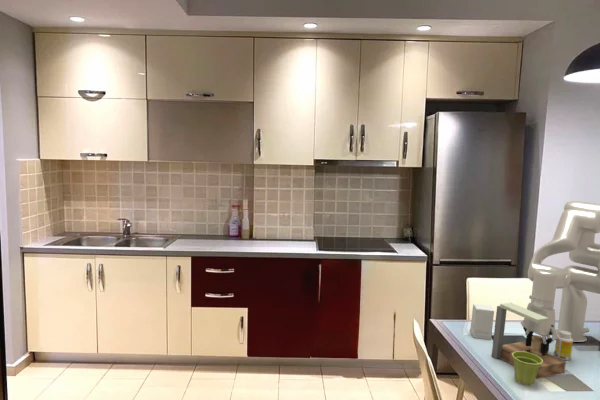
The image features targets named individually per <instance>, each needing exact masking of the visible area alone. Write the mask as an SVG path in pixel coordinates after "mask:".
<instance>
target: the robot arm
mask: <svg viewBox="0 0 600 400" xmlns="http://www.w3.org/2000/svg"><path fill="white" fill-rule="evenodd" d="M599 233H600V203H595V202H587V201H577V200H574V201H573V200H571V201H567V202H565V204H564V206H563V211H562V213H561V215H560V218H559V220H558V223H557V226H556V229H555V231H554V234H553V238H552V240H550V241H549V242H547V243H545V244H544V245H542V246H541V247H539V248H538V249H537V250H536V251H535V252H534V253H533V255H532V257H531V260H530V262H529V266H528V270H527V278H528V279H529V281H531V282H532V289H531V294H530V295H529V298H528V299H530V302H528V304H527V307H526V309H528V310H530V311H532V312H535V313H537V314H540V315H542V316H545V317H547V318H549V319H548V322H541V323H536V322H533V321H531V320H529V319H527V318H524V317H523V320H522V321H521V322H520V325H521V327H522V328H523V330H524V331H523V332H525V333H524V334H525V336H526V339H525V342H526V346H531V342H532V336H533V335H534V333H535V334H536V335H537V336H541V337H542V338H543V343H542V344H541V351H540V352H541V353H542V354H544V353H548V354H549V347H550V344H552V343H553V342H556V340H557V339H558V338H559V337H558V336H557V335H559V332H560V331H568V332H570V333H571V338H572V339H573V342H584V341H586V342H587V337H586V336H585V335H584V334H585V333H589V332H590V329H589V327H585V323H586V322H585V321H586V314H587V306H588V298H587V296H586V294H585V292H584V291H586V292H589V293H594V294H598V295H600V244H599V243H595V238H596V234H599ZM564 253H568V258H569V260H570V261H572V262H573V263H576V264H580V265H585V266H590V267H595V268H596V269H594V268H590V267H584V266H580V265H579V266H578V265H567V266H565V267H563V268H562V267H557V266H554V265H553V266H552V265H548V264H543V262H544V260H545V259H546V258H549V257H550V256H554V255H557V254H564ZM556 289H557V290H558V289H560V290H562V291H561V300H560V307H559V316H558V322H557V328H556V311H555V308H554V306H555V298H556ZM555 328H556V329H555Z"/></svg>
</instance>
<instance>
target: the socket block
mask: <svg viewBox="0 0 600 400" xmlns="http://www.w3.org/2000/svg"><path fill="white" fill-rule="evenodd" d="M530 349H531V346H526V341H518V342H514V343H513V342H512V343H506V344H503V346H502V352H501V358H500V359H501V360H503V361H505V362H507V363H509V364H510V365H512V366H514V359H513V356H512V353H513V352H516V351H523V352H529V353H530ZM540 358H541V359H542V360H543V363H542V364H541V366H540V367H539V370H538V373H537V376H536V379H541V378H546V377H551V376H556V375H560V374H564V373H565V371H566V370H565V368H566V363H567V362H566V361H565V360H561V359H559V358H557V357H555V355H553V354H550V353H549V352H548V353H544V354H542V356H540Z"/></svg>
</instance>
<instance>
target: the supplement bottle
mask: <svg viewBox="0 0 600 400" xmlns="http://www.w3.org/2000/svg"><path fill="white" fill-rule="evenodd" d="M557 336H558V337H559V338H558V339H557V340H555V345H554V353H553V354H554V355H553V356H554V357H556V358H558V359H560V360H562V361H569V360H571V358H572V350H573V345H574V343H573V339H572V338H571V333H570V332H568V331H560V332H559V335H557Z"/></svg>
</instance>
